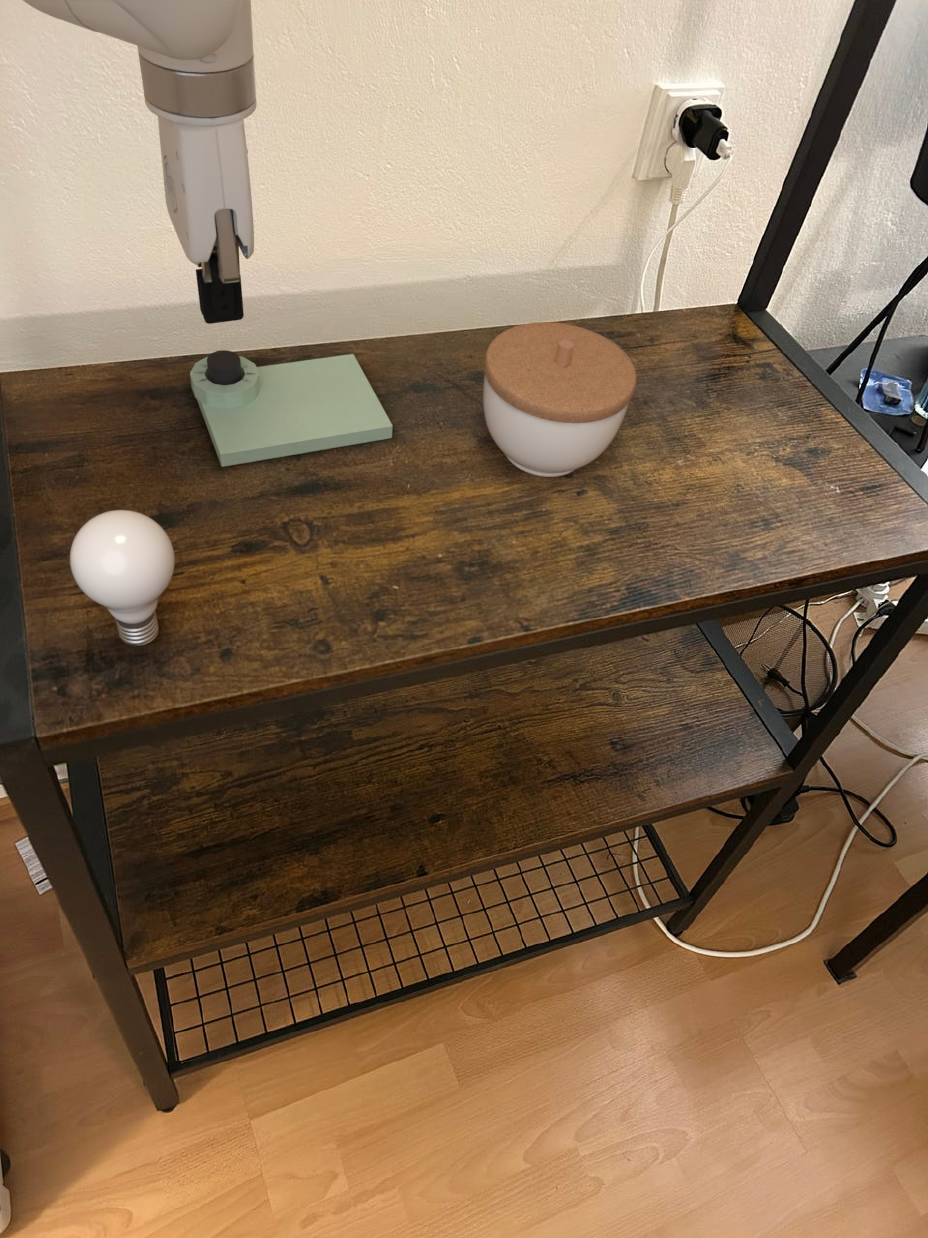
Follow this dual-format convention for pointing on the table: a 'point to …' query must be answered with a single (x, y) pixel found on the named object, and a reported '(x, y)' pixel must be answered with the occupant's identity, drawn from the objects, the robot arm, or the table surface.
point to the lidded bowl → (555, 395)
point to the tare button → (224, 367)
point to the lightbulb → (124, 569)
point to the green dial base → (289, 409)
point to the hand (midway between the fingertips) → (222, 315)
